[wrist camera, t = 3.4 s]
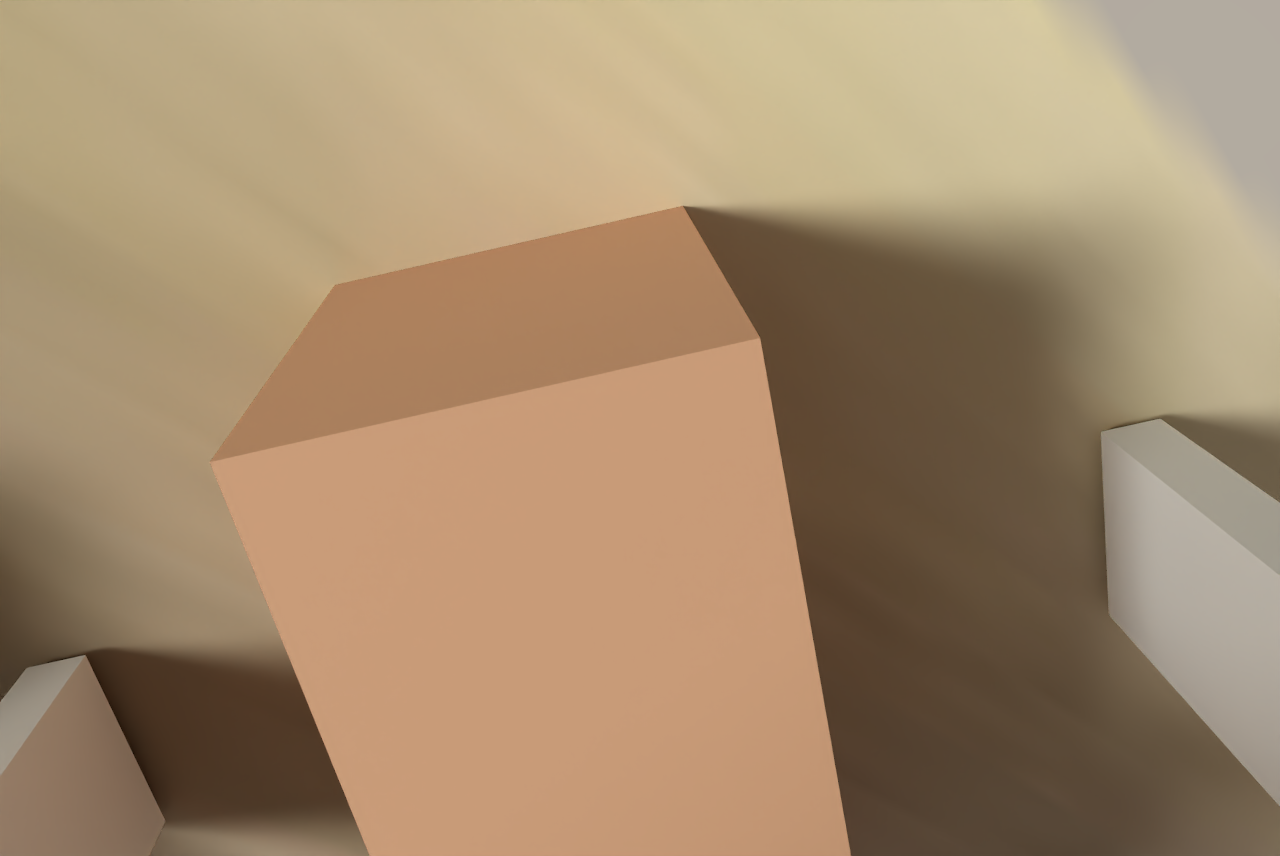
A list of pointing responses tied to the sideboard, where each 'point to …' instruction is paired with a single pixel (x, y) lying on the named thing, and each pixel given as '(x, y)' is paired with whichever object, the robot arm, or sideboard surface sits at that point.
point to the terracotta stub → (543, 556)
